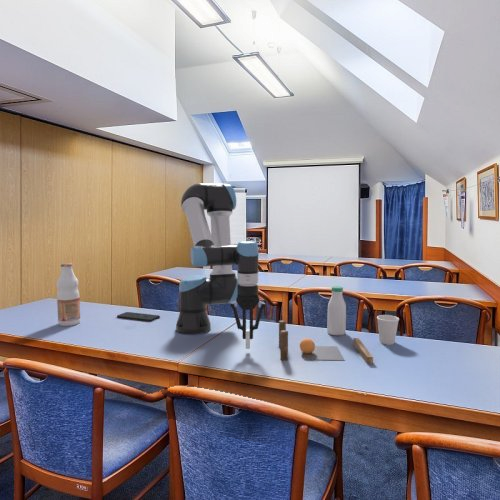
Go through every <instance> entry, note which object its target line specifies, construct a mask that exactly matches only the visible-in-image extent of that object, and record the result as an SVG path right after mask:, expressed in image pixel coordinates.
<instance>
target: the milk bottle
mask: <svg viewBox="0 0 500 500" xmlns="http://www.w3.org/2000/svg"><path fill="white" fill-rule="evenodd" d="M343 292H344V287H342V286H338V285H337V286H332V287H331V297H330V299H329V301H328V304H327V315H326V316H327V318H326V319H327V320H326V321H327V322H326V323H327V324H326V325H327V327H326V332H327V334H329V335H331V336H344V335H345V334H346V332H347V331H346V329H347V328H346V327H347V306H346V305H347V304H346V301H345V300H344V297H343V294H344V293H343Z"/></svg>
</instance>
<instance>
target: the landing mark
mask: <svg viewBox="0 0 500 500" xmlns="http://www.w3.org/2000/svg"><path fill="white" fill-rule="evenodd" d="M301 354H302V357H303V361H341V362H342V361H344V362H345V361H346V360H345V358H344V356H343V355H342V352H341V351H340V349H339V347H338V346H336V345H334V346H333V345H315V349H314V351H313V352H312V353H310V354H305V353H303V352H302V351H301Z"/></svg>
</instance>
